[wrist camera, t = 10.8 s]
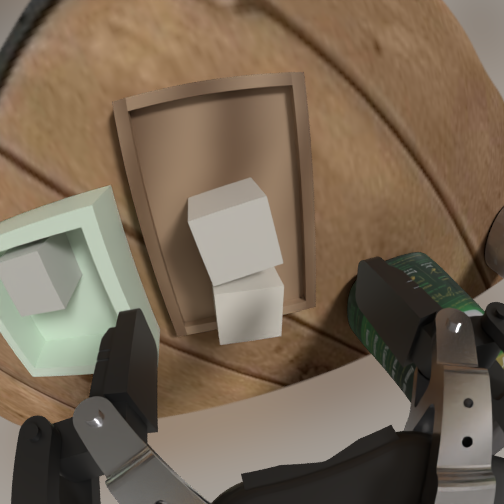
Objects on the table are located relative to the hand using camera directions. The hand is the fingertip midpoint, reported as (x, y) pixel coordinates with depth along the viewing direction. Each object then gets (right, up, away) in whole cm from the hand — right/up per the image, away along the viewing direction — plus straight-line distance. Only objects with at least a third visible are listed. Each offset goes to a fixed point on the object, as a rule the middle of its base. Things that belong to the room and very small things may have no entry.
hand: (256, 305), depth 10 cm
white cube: (-1, 0, +11) cm, 11 cm away
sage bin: (-14, 0, +9) cm, 16 cm away
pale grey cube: (-2, +4, +8) cm, 9 cm away
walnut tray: (-2, +4, +9) cm, 10 cm away
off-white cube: (-14, +2, +7) cm, 16 cm away
